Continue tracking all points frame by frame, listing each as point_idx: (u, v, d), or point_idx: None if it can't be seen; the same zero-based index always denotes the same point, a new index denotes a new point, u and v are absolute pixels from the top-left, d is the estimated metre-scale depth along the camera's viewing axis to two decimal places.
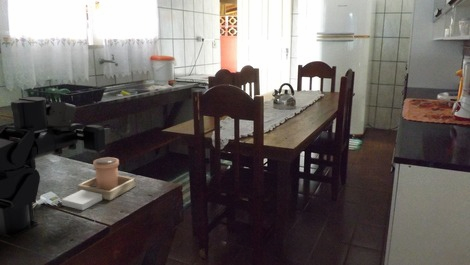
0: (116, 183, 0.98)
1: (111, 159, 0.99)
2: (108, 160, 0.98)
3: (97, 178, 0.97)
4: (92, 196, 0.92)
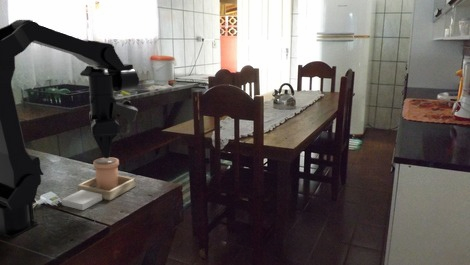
0: (116, 183, 0.98)
1: (111, 159, 0.99)
2: (108, 160, 0.98)
3: (97, 178, 0.97)
4: (92, 196, 0.92)
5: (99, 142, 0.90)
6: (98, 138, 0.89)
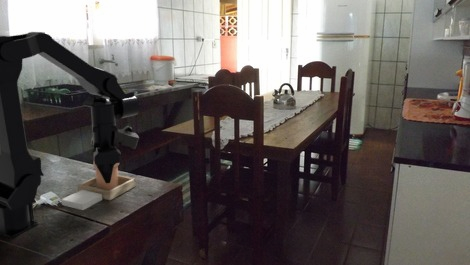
0: (116, 183, 0.98)
1: None
2: None
3: (97, 178, 0.97)
4: (92, 196, 0.92)
5: (101, 168, 0.93)
6: (100, 165, 0.92)
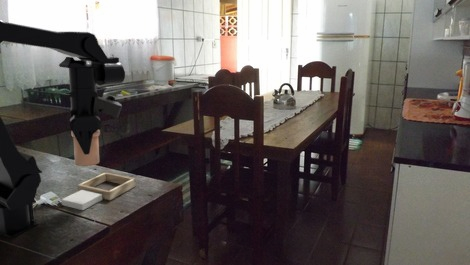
0: (96, 155, 0.90)
1: None
2: None
3: (75, 149, 0.88)
4: (92, 196, 0.92)
5: (78, 137, 0.85)
6: (77, 133, 0.84)
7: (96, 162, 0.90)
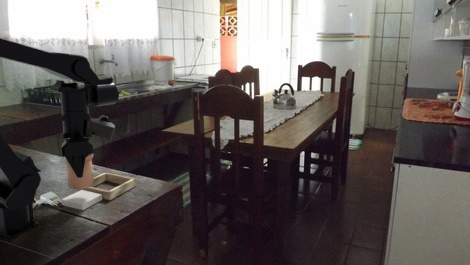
0: (89, 177, 0.89)
1: None
2: None
3: (68, 172, 0.87)
4: (92, 196, 0.92)
5: (71, 161, 0.84)
6: (70, 157, 0.83)
7: (90, 184, 0.89)
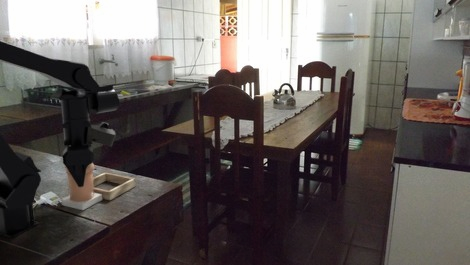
0: (90, 190, 0.90)
1: None
2: None
3: (69, 184, 0.88)
4: None
5: (72, 170, 0.83)
6: (70, 166, 0.82)
7: (91, 197, 0.90)
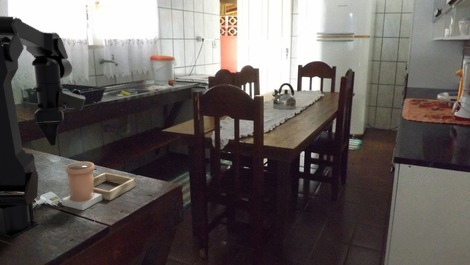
0: (90, 190, 0.90)
1: (86, 163, 0.91)
2: (82, 165, 0.90)
3: (70, 184, 0.88)
4: None
5: (44, 129, 0.93)
6: (42, 125, 0.92)
7: (91, 197, 0.90)
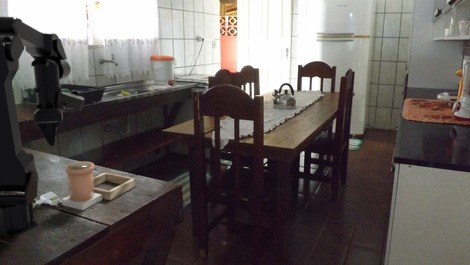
0: (90, 189, 0.90)
1: (86, 163, 0.91)
2: (82, 165, 0.90)
3: (69, 184, 0.88)
4: None
5: (43, 130, 0.93)
6: (41, 126, 0.92)
7: (91, 197, 0.90)
